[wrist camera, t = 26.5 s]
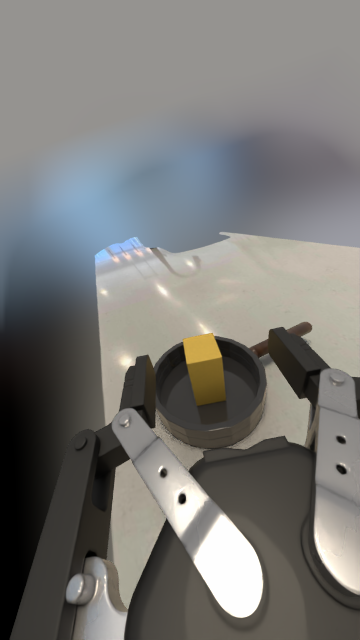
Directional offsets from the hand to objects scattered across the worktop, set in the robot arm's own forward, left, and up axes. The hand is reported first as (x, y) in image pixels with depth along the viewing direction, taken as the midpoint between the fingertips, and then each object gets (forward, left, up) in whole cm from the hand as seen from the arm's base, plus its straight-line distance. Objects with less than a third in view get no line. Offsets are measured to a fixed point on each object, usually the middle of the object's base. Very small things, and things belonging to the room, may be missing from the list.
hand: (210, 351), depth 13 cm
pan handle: (+18, +9, -16) cm, 25 cm away
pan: (+3, +9, -18) cm, 21 cm away
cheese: (+3, +9, -18) cm, 20 cm away
